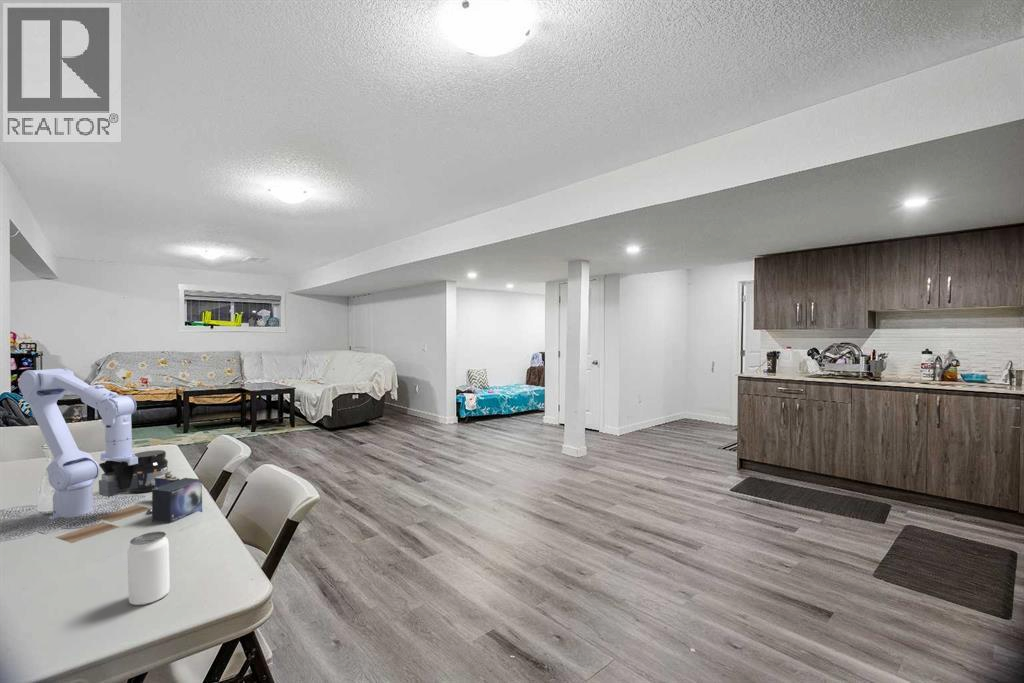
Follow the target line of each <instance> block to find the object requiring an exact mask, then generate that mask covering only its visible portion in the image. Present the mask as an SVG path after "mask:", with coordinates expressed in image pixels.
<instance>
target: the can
mask: <svg viewBox="0 0 1024 683" xmlns="http://www.w3.org/2000/svg"><path fill="white" fill-rule="evenodd" d="M166 535H167V534H166V532H165V531H152V532H147V533H142V534H140V535H137V536H135V537H133V538H132V539H130V541H129V543H130V544H129V546H128V548H127V576H128V577H127V582H128V583H127V586H128V590H127V591H128V602H129V603H130V604H131V605H132V606H146V605H150V604H153V603H156V602H159V601H160V600H162V599H163V598H165V597H166V596H167V595H168V593H170V590H171V589H170V588H171V585H170V584H171V583H170V582H171V580H170V579H171V577H170V549H169V548H170V546H169V545H170V544H169V543H170V541H169V539H168V537H166Z"/></svg>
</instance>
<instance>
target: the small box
mask: <svg viewBox="0 0 1024 683" xmlns="http://www.w3.org/2000/svg"><path fill="white" fill-rule="evenodd" d="M151 495H152V496H151V498H152V499H151V500H152V502H151V509H152V514H151V518H152V520H151V522H152V523H160V524H161V523H162V524H171V523H174V522H178V521H179V520H181V519H184V518H186V517H189V516H191V515H193V514H195V513H197V512H198V513H199V512H200V513H203V479H201V478H200V479H199V478H189V477H183V478H181V479H180V478H179V480H177V481H174V482H171V483H169V484H166V485H163V486H160V487H157V488H154V489H152V491H151Z"/></svg>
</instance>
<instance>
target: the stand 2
mask: <svg viewBox="0 0 1024 683" xmlns="http://www.w3.org/2000/svg"><path fill="white" fill-rule="evenodd" d="M149 509H152V507H151V508H150V507H147V506H142V505H138V504H135V505H132V506H129V507H125V508H122V509H121V508H120V509H119V510H115V511H113V512H108V513H105V514H102V515H99V516H95V518H96V519H99V520H103V521H107V522H110V523H112V522H113V523H114V522H116V521H120V520H122V519H123V520H124V519H126V518H129V517H133V516H135V515H138V514H141V513H144V512H145V513H146V512H147V511H148V510H149Z"/></svg>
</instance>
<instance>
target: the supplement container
mask: <svg viewBox="0 0 1024 683" xmlns="http://www.w3.org/2000/svg"><path fill="white" fill-rule="evenodd" d="M133 454H134V455H135V456H136V457H138V462H139V466H138V467H137V469H136V470H135V472H134V474H137V481H138V488H137V489H134V490H130V491H129V492H132V493H134V494H143V493H150V492H151V493H152V489H154V488H155V479H154V478H155V477H157V476H165V474H164V473H166V472H169V471H168V464H169V461H168V459H167V458H166V457H167V452H166V451H165V450H163V449H162V450H161V449H157V450H147V451H145V450H144V451H141V452H137V453H133Z"/></svg>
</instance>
